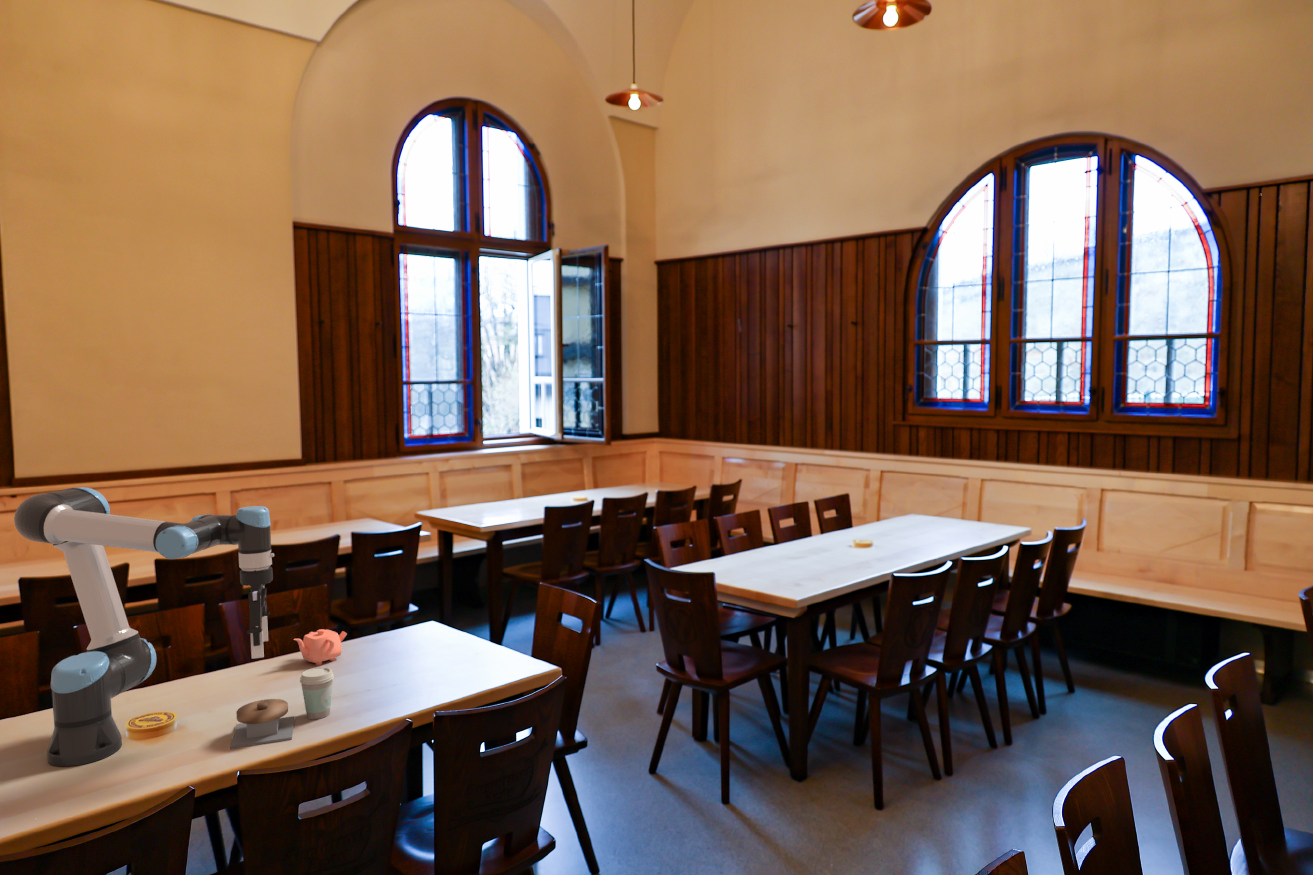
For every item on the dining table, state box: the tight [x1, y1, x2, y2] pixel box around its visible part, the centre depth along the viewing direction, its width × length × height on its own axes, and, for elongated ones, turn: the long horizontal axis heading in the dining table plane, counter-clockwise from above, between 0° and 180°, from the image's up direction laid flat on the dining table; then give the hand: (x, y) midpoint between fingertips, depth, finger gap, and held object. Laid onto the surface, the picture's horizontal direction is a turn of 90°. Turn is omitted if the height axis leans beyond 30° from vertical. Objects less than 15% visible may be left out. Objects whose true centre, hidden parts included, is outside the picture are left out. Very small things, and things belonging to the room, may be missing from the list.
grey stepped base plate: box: [229, 715, 295, 750], centre depth 215 cm, size 14×14×5 cm
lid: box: [235, 698, 289, 724], centre depth 215 cm, size 12×12×3 cm
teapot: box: [293, 629, 348, 666], centre depth 269 cm, size 14×12×10 cm
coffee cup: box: [299, 666, 335, 720], centre depth 226 cm, size 9×8×12 cm
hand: (260, 649), depth 214 cm, fingers open, 13 cm apart
